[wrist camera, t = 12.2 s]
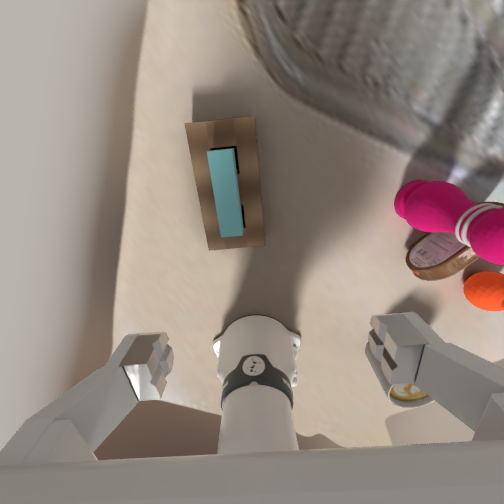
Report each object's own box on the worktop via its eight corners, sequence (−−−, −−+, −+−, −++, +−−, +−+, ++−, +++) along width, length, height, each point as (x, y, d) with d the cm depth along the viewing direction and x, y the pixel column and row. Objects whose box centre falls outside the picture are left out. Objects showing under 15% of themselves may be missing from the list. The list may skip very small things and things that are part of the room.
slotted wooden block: (264, 236, 42) (265, 245, 38) (212, 240, 42) (208, 250, 38) (254, 118, 34) (254, 115, 30) (192, 125, 34) (184, 123, 31)
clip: (244, 218, 40) (242, 235, 33) (226, 219, 40) (220, 237, 33) (236, 146, 36) (231, 148, 28) (216, 149, 36) (206, 151, 28)
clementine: (464, 258, 43) (501, 279, 37) (503, 258, 43) (546, 280, 37) (448, 295, 46) (479, 320, 40) (484, 295, 46) (521, 321, 40)
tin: (403, 265, 44) (434, 292, 36) (393, 255, 43) (423, 280, 35) (484, 206, 39) (540, 222, 31) (475, 193, 38) (530, 206, 31)
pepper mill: (389, 184, 38) (513, 227, 20) (438, 170, 37) (616, 201, 19) (392, 226, 41) (502, 297, 22) (437, 214, 40) (591, 277, 22)
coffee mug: (401, 365, 55) (430, 410, 46) (358, 361, 54) (379, 405, 45) (427, 320, 49) (466, 361, 40) (380, 315, 49) (409, 355, 40)
